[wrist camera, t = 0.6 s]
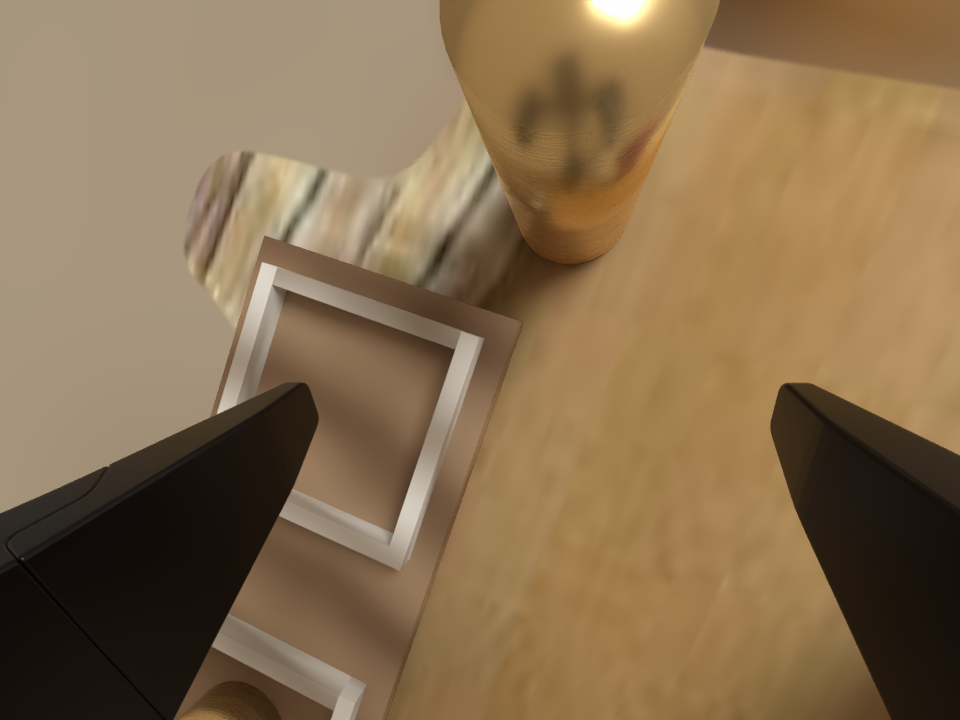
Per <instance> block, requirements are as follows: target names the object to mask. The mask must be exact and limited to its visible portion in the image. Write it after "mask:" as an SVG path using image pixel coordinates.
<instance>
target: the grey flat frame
mask: <svg viewBox="0 0 960 720" xmlns="http://www.w3.org/2000/svg"><path fill="white" fill-rule="evenodd" d="M522 324H523V323H522V322H520V321H518V320H515V319H512V318H509V317H506V316H503V315H500V314H497V313H494V312H491V311H488V310H485V309H482V308H479V307H476V306H473V305H470V304H467V303H464V302H461V301H458V300H455V299H452V298H449V297H446V296H443V295H440V294H437V293H434V292H431V291H428V290H425V289H422V288H419V287H416V286H413V285H410V284H407V283H404V282H401V281H398V280H395V279H392V278H389V277H386V276H383V275H380V274H377V273H374V272H371V271H368V270H366V269H363V268H360V267H357V266H354V265H351V264H348V263H345V262H342V261H339V260H336V259H333V258H330V257H327V256H324V255H321V254H318V253H315V252H312V251H309V250H306V249H303V248H300V247H297V246H294V245H291V244H288V243H285V242H282V241H279V240H276V239H273V238H270V237H267V236H264V239H263V242H262V245H261V249H260V252H259V255H258V259H257V262H256V265H255V269H254V272H253V275H252V279H251V282H250V286H249V289H248V292H247V296H246V299H245V302H244V306H243V309H242V312H241V316H240V319H239V323H238V326H237V329H236V333H235V336H234V339H233V343H232V346H231V349H230V353H229V356H228V360H227V363H226V366H225V370H224V373H223V377H222V380H221V383H220V386H219V390H218V393H217V397H216V400H215V404H214V407H213V410H212V414H211V417H212V416H214V415H217V414H219V413H221V412H223V411H225V410H227V409H229V408H232V407H234V406H236V405H238V404H240V403H242V402H244V401H247V400H249V399H251V398H253V397H255V396H257V395H259V394H262V393H264V392H266V391H268V390H270V389H272V388H274V387H277V386H279V385H281V384H283V383H285V382H304V383H306V384H307V385H308V386H309V388H310V390H311V393H312V396H313V399H314V402H315V405H316V408H317V411H318V415H319V422H318V426H317V429H316V431H315V434H314V437H313V439H312V442H311V444H310V447H309V449H308V452H307V455H306V457H305V460H304V462H303V465H302V467H301V470H300V473H299V475H298V478H297V480H296V482H295V485H294V487H293V489H292V491H291V493H290V495H289V497H288V499H287V501H286V503H285V505H284V507H283V509H282V511H281V513H280V515H279V517H278V518H277V520H276V522H275V524H274V526H273V528H272V530H271V532H270V534H269V536H268V538H267V540H266V542H265V544H264V546H263V548H262V550H261V551H260V553H259V555H258V557H257V559H256V561H255V563H254V565H253V567H252V569H251V571H250V573H249V575H248V577H247V579H246V581H245V582H244V584H243V586H242V588H241V590H240V592H239V594H238V596H237V598H236V600H235V602H234V604H233V606H232V608H231V610H230V612H229V613H228V615H227V617H226V619H225V621H224V623H223V625H222V627H221V629H220V631H219V633H218V635H217V637H216V639H215V641H214V643H213V644H212V646H211V648H210V650H209V652H208V654H207V656H206V658H205V660H204V662H203V664H202V666H201V668H200V670H199V672H198V674H197V675H196V677H195V679H194V681H193V683H192V685H191V687H190V689H189V691H188V693H187V695H186V697H185V699H184V701H183V703H182V705H181V707H180V708H179V710H178V712H177V714H176V716H175V718H174V720H177V719H178V718H180V717H181V716H182V715H183V714H184V713H185V712H186V711H187V710H188V709H189V708H190V707H191V706H192V705H193V704H195V703H196V702H197V701H198V700H199V699H200V698H201V697H202V696H203V695H204V694H205V693H206V692H207V691H209V690H210V689H211V688H212V687H214V686H215V685H217V684H219V683H222V682H227V681H240V682H244V683H248V684H250V685H252V686H254V687H256V688H257V689H259V690H260V691H262V692H263V693H264V694H265V695H266V696H267V697H268V698H269V699H270V700H271V702H272V703H273V704H274V706H275V707H276V709H277V711H278V713H279V715H280V717H281V720H386V717H387V715H388V712H389V709H390V706H391V703H392V700H393V697H394V694H395V691H396V689H397V686H398V683H399V680H400V677H401V674H402V671H403V668H404V665H405V663H406V660H407V657H408V654H409V651H410V648H411V645H412V642H413V639H414V637H415V634H416V631H417V628H418V625H419V622H420V619H421V616H422V613H423V611H424V608H425V605H426V602H427V599H428V596H429V593H430V590H431V587H432V585H433V582H434V579H435V576H436V573H437V570H438V567H439V564H440V561H441V559H442V556H443V553H444V550H445V547H446V544H447V541H448V538H449V535H450V533H451V530H452V527H453V524H454V521H455V518H456V515H457V512H458V509H459V507H460V504H461V501H462V498H463V495H464V492H465V489H466V486H467V483H468V480H469V478H470V475H471V472H472V469H473V466H474V463H475V460H476V457H477V454H478V452H479V449H480V446H481V443H482V440H483V437H484V434H485V431H486V428H487V426H488V423H489V420H490V417H491V414H492V411H493V408H494V405H495V402H496V400H497V397H498V394H499V391H500V388H501V385H502V382H503V379H504V376H505V374H506V371H507V368H508V365H509V362H510V359H511V356H512V353H513V350H514V348H515V345H516V342H517V339H518V336H519V333H520V330H521V327H522Z"/></svg>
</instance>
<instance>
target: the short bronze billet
mask: <svg viewBox="0 0 960 720" xmlns="http://www.w3.org/2000/svg"><path fill="white" fill-rule="evenodd" d="M177 720H281V717H280V715H279V713H278V711H277V709H276V707H275V706H274V704H273V703H272V702H271V700H270V699H269V698H268V697H267V696H266V695H265V694H264V693H263V692H262V691H260V690H259V689H257V688H256V687H254V686H252V685H250V684H248V683H244V682H240V681H227V682H222V683H219V684H217V685H215V686H214V687H212V688H211V689H210V690H209V691H207V692H206V693H205V694H204V695H203V696H202V697H201V698H200V699H199V700H198V701H197V702H196V703H195V704H193V705H192V706H191V707H190V708H189V709H188V710H187V711H186V712H185V713H184V714H183V715H182V716H181V717H180V718H178V719H177Z"/></svg>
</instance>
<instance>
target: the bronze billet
mask: <svg viewBox="0 0 960 720" xmlns="http://www.w3.org/2000/svg"><path fill="white" fill-rule="evenodd" d="M719 2H720V0H440V23H441V31H442V37H443V40H444V44H445V48H446V51H447V54H448V56H449V59H450V61H451V64H452V66H453V68H454V71H455V73H456V75H457V78H458V80H459V83H460V85H461V88H462V90H463V93H464V95H465V98H466V100H467V102H468V105H469V107H470V110H471V112H472V115H473V117H474V119H475V122H476V124H477V127H478V129H479V132H480V134H481V136H482V139H483V141H484V144H485V146H486V149H487V151H488V153H489V156H490V158H491V161H492V163H493V166H494V168H495V170H496V173H497V175H498V178H499V180H500V183H501V185H502V187H503V190H504V192H505V195H506V197H507V200H508V202H509V204H510V207H511V209H512V212H513V214H514V217H515V219H516V221H517V224H518V226H519V229H520V231H521V234H522V236H523V238H524V239H525V241H526V242H527V244H528V245H529V246H530V247H531V248H532V249H533V250H534V251H535V252H536V253H537V254H539V255H540V256H541V257H543V258H545V259H547V260H550V261H552V262H556V263H560V264H579V263H584V262H588V261H591V260H593V259H595V258H597V257H599V256H601V255H602V254H604V253H605V252H606V251H608V250H609V249H610V248H611V247H612V246H613V245H614V244H615V243H616V242H617V240H618V239H619V238H620V236H621V234H622V233H623V231H624V228H625V226H626V224H627V221H628V219H629V217H630V214H631V212H632V210H633V207H634V205H635V203H636V201H637V198H638V196H639V194H640V191H641V189H642V187H643V184H644V182H645V180H646V177H647V175H648V173H649V170H650V168H651V166H652V163H653V161H654V159H655V156H656V154H657V152H658V149H659V147H660V145H661V142H662V140H663V138H664V135H665V133H666V131H667V128H668V126H669V124H670V121H671V119H672V117H673V114H674V112H675V110H676V107H677V105H678V103H679V100H680V98H681V96H682V93H683V91H684V89H685V86H686V84H687V82H688V79H689V77H690V75H691V73H692V70H693V68H694V66H695V63H696V61H697V59H698V56H699V54H700V52H701V49H702V47H703V45H704V42H705V40H706V38H707V35H708V33H709V30H710V28H711V26H712V23H713V21H714V19H715V16H716V13H717V9H718V6H719Z"/></svg>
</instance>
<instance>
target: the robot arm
mask: <svg viewBox="0 0 960 720" xmlns="http://www.w3.org/2000/svg"><path fill="white" fill-rule="evenodd" d="M318 422H319V415H318V411H317V408H316V405H315V402H314V399H313V396H312V393H311V390H310V388H309V386H308V385H307V384H306V383H304V382H285V383H283V384H281V385H279V386H277V387H274V388H272V389H270V390H268V391H266V392H264V393H262V394H259V395H257V396H255V397H253V398H251V399H249V400H247V401H244V402H242V403H240V404H238V405H236V406H234V407H232V408H229V409H227V410H225V411H223V412H221V413H219V414H217V415H214V416H212V417H210V418H208V419H206V420H204V421H202V422H200V423H197V424H195V425H193V426H191V427H189V428H187V429H185V430H182V431H180V432H178V433H176V434H174V435H172V436H170V437H167V438H165V439H163V440H161V441H159V442H157V443H155V444H153V445H150V446H148V447H146V448H144V449H142V450H140V451H137V452H136V453H133V454H131V455H129V456H127V457H125V458H123V459H120V460H118V461H116V462H114V463H112V464H110V465H109V467H103V468H101V469H99V470H97V471H95V472H93V473H90V474H88V475H86V476H84V477H82V478H79V479H77V480H75V481H73V482H71V483H68V484H66V485H64V486H62V487H60V488H58V489H55V490H53V491H51V492H49V493H46V494H44V495H42V496H40V497H37V498H35V499H33V500H30V501H28V502H26V503H23V504H21V505H19V506H17V507H14V508H12V509H10V510H7V511H5V512H2V513H0V720H174V718H175V716H176V714H177V712H178V710H179V708H180V707H181V705H182V703H183V701H184V699H185V697H186V695H187V693H188V691H189V689H190V687H191V685H192V683H193V681H194V679H195V677H196V675H197V674H198V672H199V670H200V668H201V666H202V664H203V662H204V660H205V658H206V656H207V654H208V652H209V650H210V648H211V646H212V644H213V643H214V641H215V639H216V637H217V635H218V633H219V631H220V629H221V627H222V625H223V623H224V621H225V619H226V617H227V615H228V613H229V612H230V610H231V608H232V606H233V604H234V602H235V600H236V598H237V596H238V594H239V592H240V590H241V588H242V586H243V584H244V582H245V581H246V579H247V577H248V575H249V573H250V571H251V569H252V567H253V565H254V563H255V561H256V559H257V557H258V555H259V553H260V551H261V550H262V548H263V546H264V544H265V542H266V540H267V538H268V536H269V534H270V532H271V530H272V528H273V526H274V524H275V522H276V520H277V518H278V517H279V515H280V513H281V511H282V509H283V507H284V505H285V503H286V501H287V499H288V497H289V495H290V493H291V491H292V489H293V487H294V485H295V482H296V480H297V478H298V475H299V473H300V470H301V467H302V465H303V462H304V460H305V457H306V455H307V452H308V449H309V447H310V444H311V442H312V439H313V437H314V434H315V431H316V429H317V426H318ZM770 427H771V435H772V438H773V441H774V444H775V447H776V451H777V454H778V457H779V460H780V463H781V466H782V470H783V473H784V476H785V479H786V482H787V486H788V489H789V492H790V495H791V498H792V501H793V504H794V507H795V510H796V512H797V514H798V517H799V519H800V521H801V524H802V526H803V528H804V530H805V533H806V535H807V537H808V539H809V541H810V543H811V546H812V548H813V550H814V552H815V554H816V557H817V559H818V561H819V563H820V565H821V567H822V570H823V572H824V574H825V576H826V578H827V581H828V583H829V585H830V587H831V589H832V591H833V594H834V596H835V598H836V600H837V602H838V605H839V607H840V609H841V611H842V613H843V615H844V618H845V620H846V622H847V624H848V626H849V628H850V631H851V633H852V635H853V637H854V639H855V642H856V644H857V646H858V648H859V650H860V652H861V655H862V657H863V659H864V661H865V663H866V666H867V668H868V670H869V672H870V674H871V676H872V679H873V681H874V683H875V685H876V687H877V690H878V692H879V694H880V696H881V698H882V700H883V703H884V705H885V707H886V709H887V711H888V714H889V716H890V718H891V720H960V455H958V454H956V453H954V452H952V451H950V450H948V449H946V448H943V447H941V446H939V445H937V444H935V443H933V442H931V441H929V440H927V439H925V438H923V437H921V436H919V435H917V434H915V433H913V432H910V431H908V430H906V429H904V428H902V427H900V426H898V425H896V424H894V423H892V422H890V421H888V420H886V419H884V418H882V417H879V416H877V415H875V414H873V413H871V412H869V411H867V410H865V409H863V408H861V407H859V406H857V405H855V404H853V403H851V402H849V401H846V400H844V399H842V398H840V397H838V396H836V395H834V394H832V393H830V392H828V391H826V390H824V389H822V388H820V387H818V386H816V385H813V384H811V383H785V384H783V385H782V386H781V387H780V389H779V392H778V395H777V399H776V403H775V407H774V411H773V415H772V419H771V425H770Z"/></svg>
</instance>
